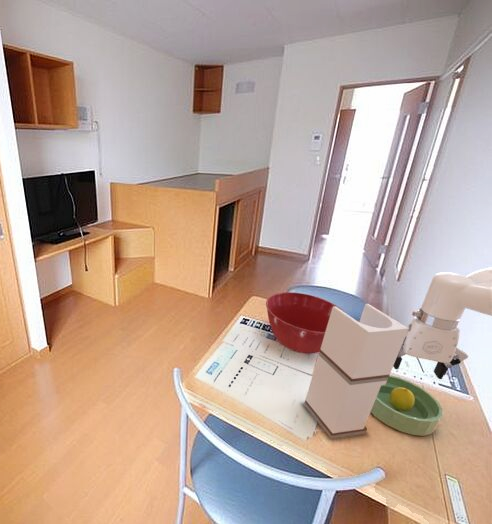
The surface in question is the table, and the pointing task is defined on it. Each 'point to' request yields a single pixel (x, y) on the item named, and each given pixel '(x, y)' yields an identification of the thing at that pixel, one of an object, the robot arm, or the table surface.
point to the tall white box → (352, 369)
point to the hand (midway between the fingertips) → (415, 370)
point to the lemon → (402, 399)
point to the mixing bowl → (299, 320)
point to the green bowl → (414, 420)
